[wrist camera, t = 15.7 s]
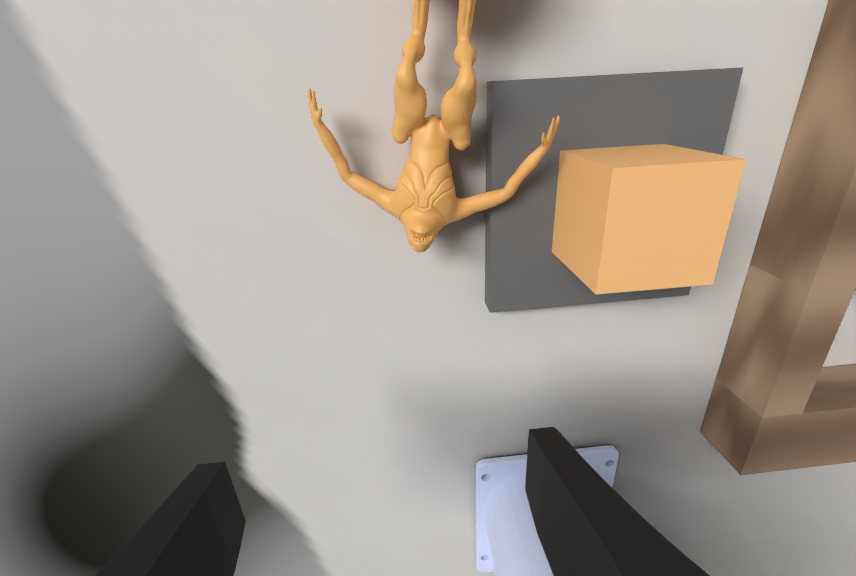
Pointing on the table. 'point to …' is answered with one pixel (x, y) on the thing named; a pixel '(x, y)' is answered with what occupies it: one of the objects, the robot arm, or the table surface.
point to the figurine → (430, 141)
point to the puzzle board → (799, 286)
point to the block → (643, 215)
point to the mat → (581, 129)
